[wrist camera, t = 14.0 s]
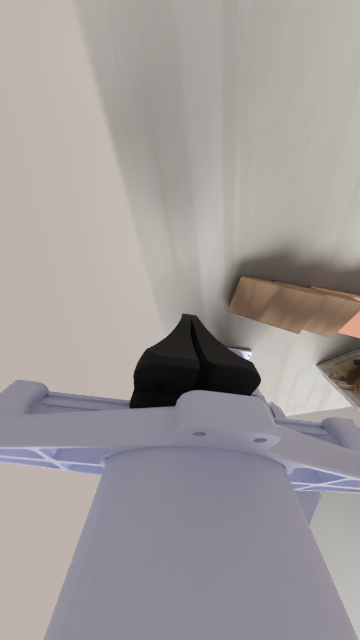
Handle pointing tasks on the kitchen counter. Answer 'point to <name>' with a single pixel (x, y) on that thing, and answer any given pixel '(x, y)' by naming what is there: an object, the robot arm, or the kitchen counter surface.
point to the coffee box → (344, 375)
